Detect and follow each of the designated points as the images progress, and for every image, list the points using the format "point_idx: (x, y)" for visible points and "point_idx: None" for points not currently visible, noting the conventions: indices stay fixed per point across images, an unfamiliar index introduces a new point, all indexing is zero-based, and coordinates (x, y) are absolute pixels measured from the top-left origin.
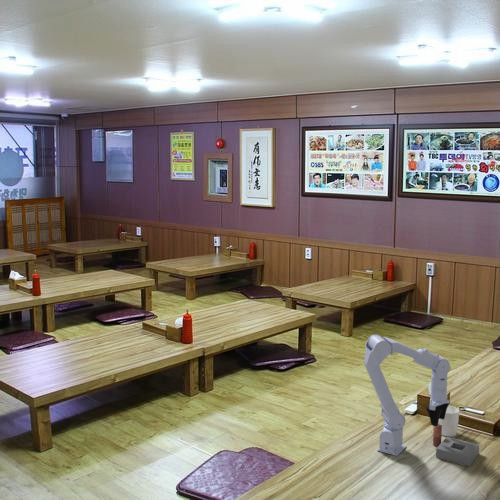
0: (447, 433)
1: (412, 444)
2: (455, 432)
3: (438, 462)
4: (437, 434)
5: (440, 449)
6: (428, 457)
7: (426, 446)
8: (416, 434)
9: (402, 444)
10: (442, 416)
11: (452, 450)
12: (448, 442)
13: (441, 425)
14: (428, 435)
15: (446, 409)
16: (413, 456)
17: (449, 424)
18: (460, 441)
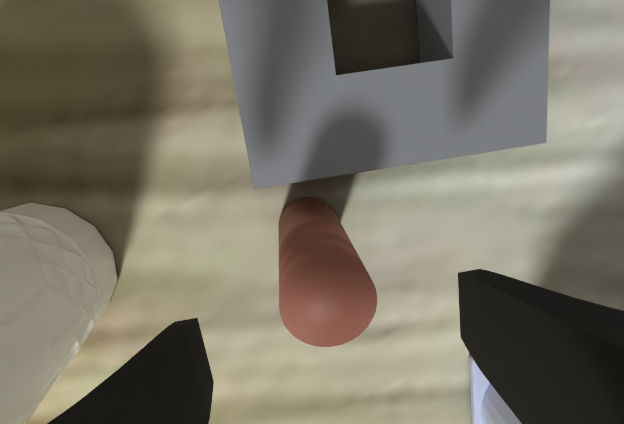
0: (97, 251)
1: (408, 344)
2: (24, 210)
3: (559, 86)
4: (353, 247)
5: (545, 104)
6: (525, 177)
7: (375, 268)
8: (250, 402)
9: (475, 380)
10: (189, 359)
11: (504, 4)
12: (364, 117)
13: (298, 271)
14: None
15: (74, 419)
16: (565, 255)
17: (44, 273)
18: (259, 34)
